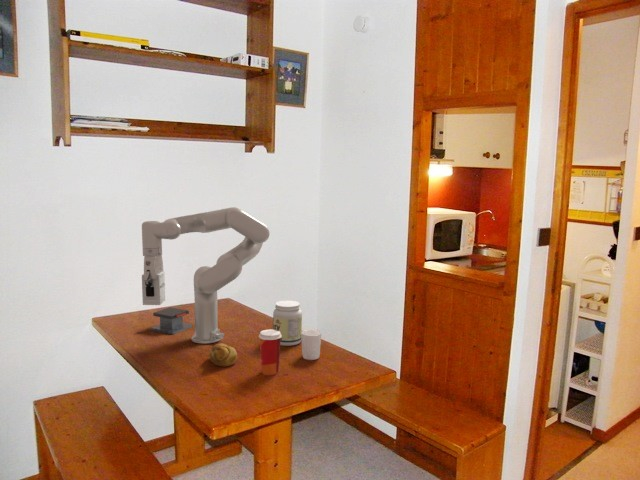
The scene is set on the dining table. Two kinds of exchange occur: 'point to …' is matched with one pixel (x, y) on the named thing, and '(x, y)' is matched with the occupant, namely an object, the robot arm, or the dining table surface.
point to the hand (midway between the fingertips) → (153, 293)
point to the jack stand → (171, 321)
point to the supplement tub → (288, 322)
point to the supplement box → (155, 290)
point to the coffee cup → (270, 351)
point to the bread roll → (223, 355)
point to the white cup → (311, 344)
